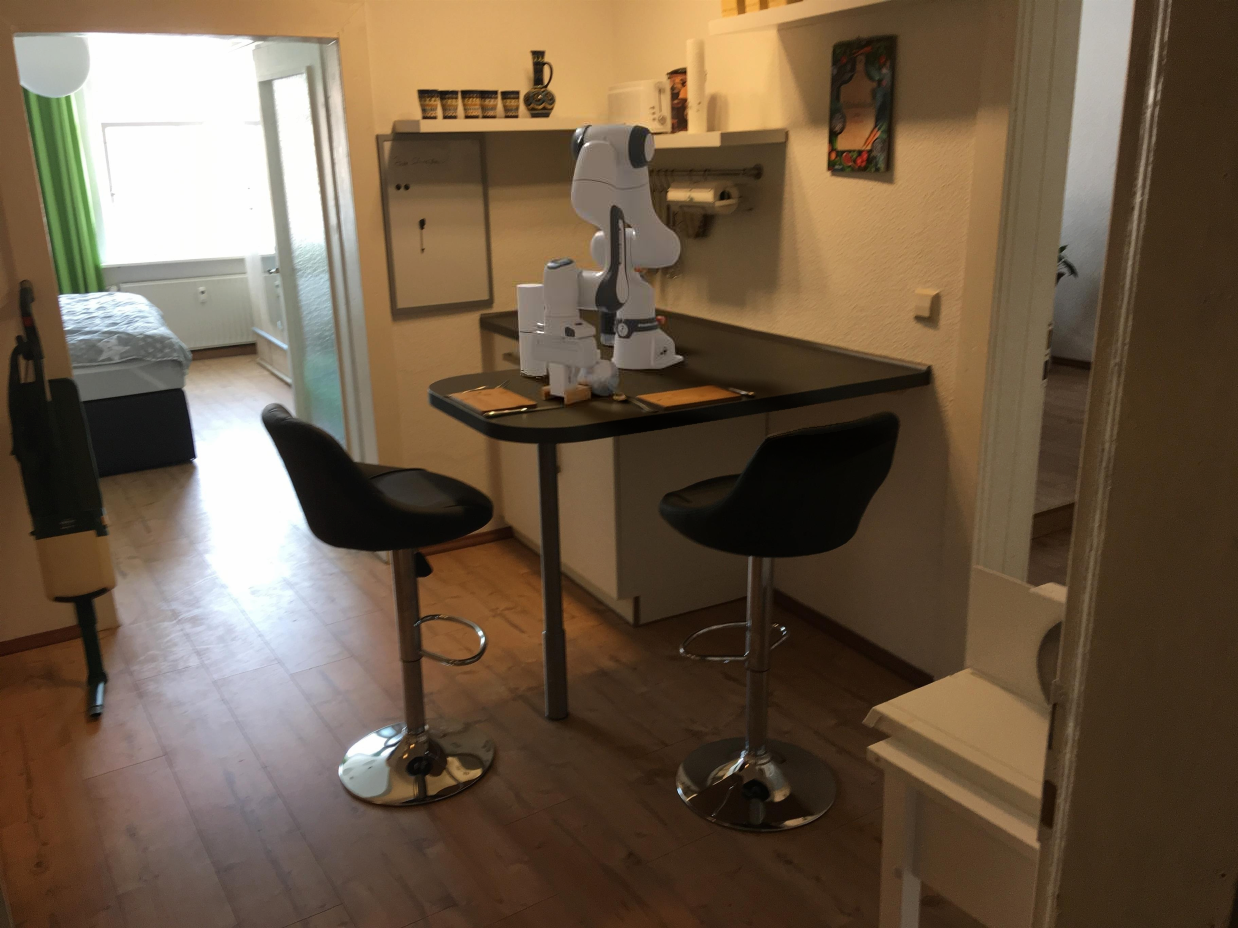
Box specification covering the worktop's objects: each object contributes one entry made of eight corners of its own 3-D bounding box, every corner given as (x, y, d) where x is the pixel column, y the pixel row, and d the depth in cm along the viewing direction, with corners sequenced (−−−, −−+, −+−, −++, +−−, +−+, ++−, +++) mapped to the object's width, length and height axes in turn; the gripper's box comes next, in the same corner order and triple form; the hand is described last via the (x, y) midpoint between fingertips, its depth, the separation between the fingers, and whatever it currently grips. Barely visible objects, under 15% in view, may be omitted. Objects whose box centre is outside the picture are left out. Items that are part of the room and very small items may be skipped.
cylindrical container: (529, 378, 277) (525, 287, 269) (516, 374, 282) (512, 285, 275) (551, 375, 281) (547, 285, 273) (537, 371, 286) (534, 283, 279)
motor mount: (585, 386, 266) (584, 345, 263) (619, 392, 258) (618, 350, 255) (537, 398, 253) (536, 355, 250) (571, 405, 246) (570, 360, 242)
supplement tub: (656, 345, 324) (656, 263, 316) (612, 349, 317) (611, 266, 310) (634, 337, 337) (633, 259, 330) (592, 342, 331) (590, 262, 323)
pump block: (550, 394, 251) (549, 362, 249) (564, 390, 255) (563, 359, 253) (564, 396, 248) (563, 365, 246) (578, 393, 252) (577, 361, 249)
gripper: (523, 324, 251) (526, 378, 255) (582, 332, 238) (584, 389, 242) (541, 321, 256) (544, 374, 260) (600, 328, 242) (601, 384, 247)
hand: (563, 381), depth 251 cm, fingers closed on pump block, 5 cm apart
